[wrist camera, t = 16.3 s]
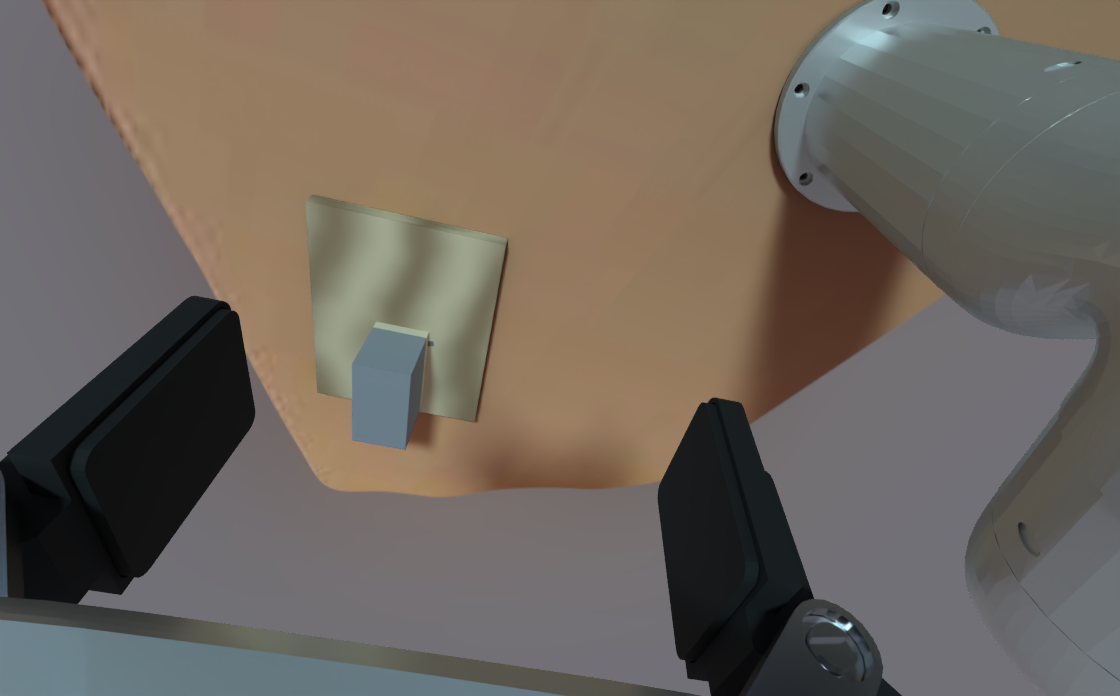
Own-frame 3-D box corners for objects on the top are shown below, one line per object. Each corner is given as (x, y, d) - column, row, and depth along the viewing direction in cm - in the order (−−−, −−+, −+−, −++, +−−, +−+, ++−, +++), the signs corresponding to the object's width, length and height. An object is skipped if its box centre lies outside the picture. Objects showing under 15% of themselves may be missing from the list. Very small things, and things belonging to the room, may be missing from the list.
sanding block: (428, 332, 43) (410, 375, 39) (421, 403, 48) (405, 450, 43) (376, 321, 43) (351, 363, 38) (374, 394, 48) (352, 440, 43)
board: (507, 238, 39) (505, 245, 38) (476, 412, 50) (474, 422, 49) (312, 194, 38) (305, 201, 37) (322, 383, 49) (317, 392, 48)
